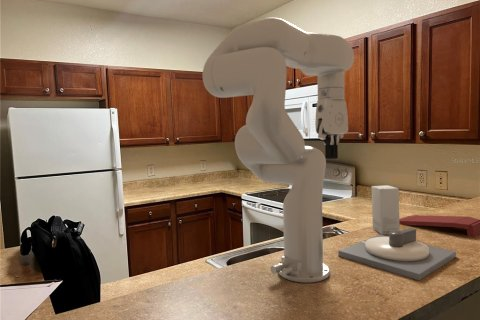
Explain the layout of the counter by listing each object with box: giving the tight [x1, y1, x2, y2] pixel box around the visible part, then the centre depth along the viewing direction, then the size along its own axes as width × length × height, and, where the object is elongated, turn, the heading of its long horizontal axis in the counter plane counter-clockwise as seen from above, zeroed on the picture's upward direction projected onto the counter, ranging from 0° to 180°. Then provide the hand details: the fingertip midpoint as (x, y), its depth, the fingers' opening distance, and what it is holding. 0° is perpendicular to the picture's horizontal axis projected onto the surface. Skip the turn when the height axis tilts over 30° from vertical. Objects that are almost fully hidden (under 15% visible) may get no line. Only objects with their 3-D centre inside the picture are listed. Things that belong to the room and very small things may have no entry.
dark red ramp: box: [399, 214, 480, 238], centre depth 121 cm, size 12×5×25 cm
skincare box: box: [371, 184, 401, 236], centre depth 117 cm, size 8×7×16 cm
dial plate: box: [338, 233, 457, 281], centre depth 94 cm, size 22×22×2 cm
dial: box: [365, 227, 429, 261], centre depth 94 cm, size 16×16×5 cm
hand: (331, 158), depth 101 cm, fingers closed
